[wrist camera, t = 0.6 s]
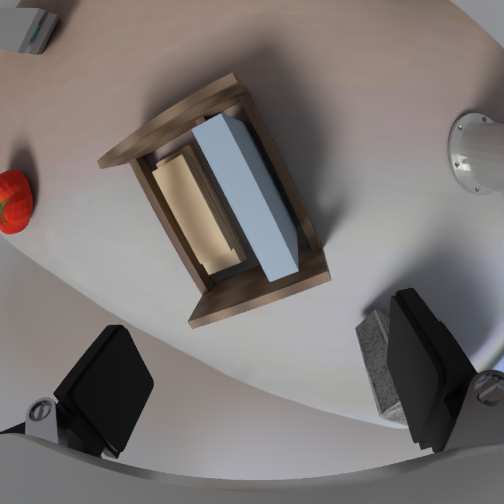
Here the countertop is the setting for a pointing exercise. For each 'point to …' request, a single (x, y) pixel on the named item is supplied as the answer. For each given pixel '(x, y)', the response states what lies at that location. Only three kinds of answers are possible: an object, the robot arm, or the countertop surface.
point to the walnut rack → (213, 294)
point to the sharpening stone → (26, 29)
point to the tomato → (14, 202)
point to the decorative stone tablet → (379, 365)
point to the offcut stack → (199, 210)
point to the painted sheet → (251, 193)
